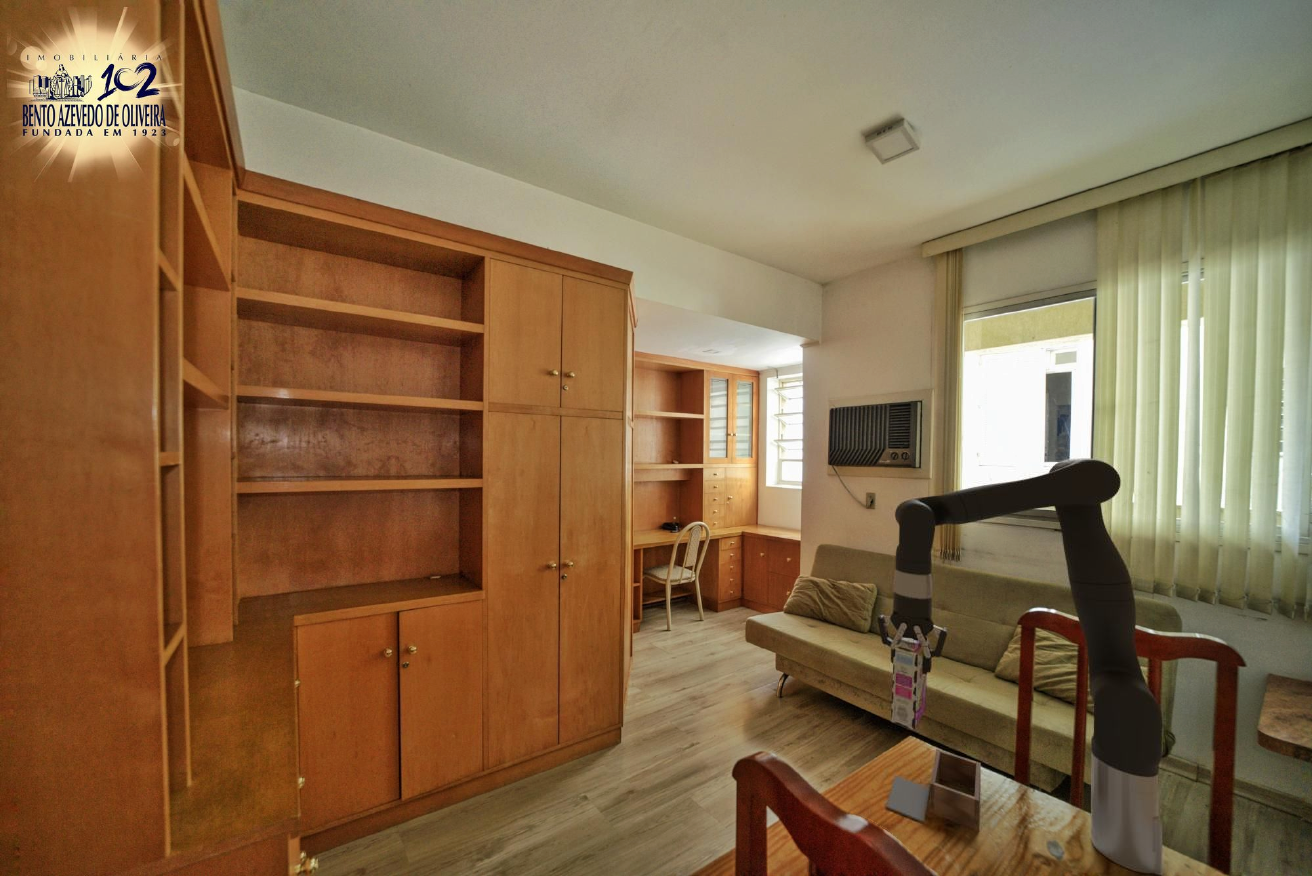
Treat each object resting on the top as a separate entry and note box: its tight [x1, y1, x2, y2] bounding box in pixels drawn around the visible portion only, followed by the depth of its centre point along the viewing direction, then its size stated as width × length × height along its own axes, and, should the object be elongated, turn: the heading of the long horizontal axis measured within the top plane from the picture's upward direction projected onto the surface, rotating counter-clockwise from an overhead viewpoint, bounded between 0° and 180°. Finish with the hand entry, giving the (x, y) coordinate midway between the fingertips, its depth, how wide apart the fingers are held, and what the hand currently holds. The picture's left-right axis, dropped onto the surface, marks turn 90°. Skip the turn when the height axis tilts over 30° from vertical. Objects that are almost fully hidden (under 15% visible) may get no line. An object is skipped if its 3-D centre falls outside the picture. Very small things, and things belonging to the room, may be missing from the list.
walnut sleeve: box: [929, 748, 982, 832], centre depth 105 cm, size 9×15×6 cm, turn 145°
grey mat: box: [885, 775, 930, 824], centre depth 105 cm, size 7×12×1 cm, turn 145°
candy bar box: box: [890, 636, 928, 731], centre depth 106 cm, size 11×5×16 cm, turn 140°
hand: (910, 668), depth 106 cm, fingers closed on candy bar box, 5 cm apart
